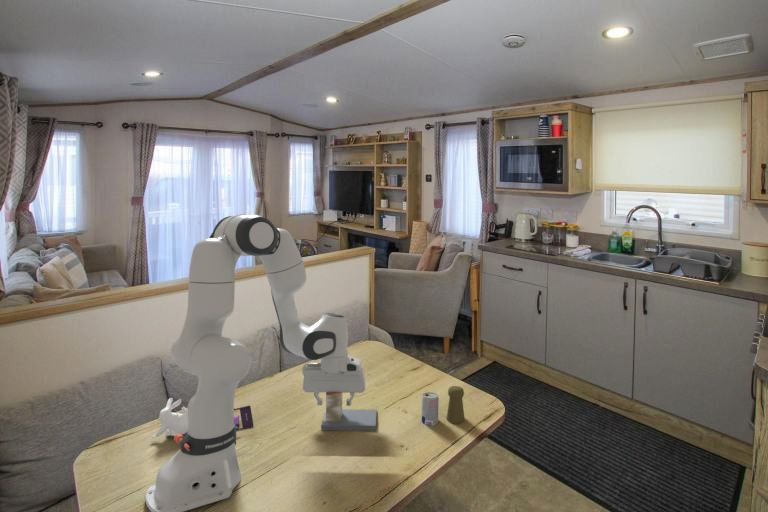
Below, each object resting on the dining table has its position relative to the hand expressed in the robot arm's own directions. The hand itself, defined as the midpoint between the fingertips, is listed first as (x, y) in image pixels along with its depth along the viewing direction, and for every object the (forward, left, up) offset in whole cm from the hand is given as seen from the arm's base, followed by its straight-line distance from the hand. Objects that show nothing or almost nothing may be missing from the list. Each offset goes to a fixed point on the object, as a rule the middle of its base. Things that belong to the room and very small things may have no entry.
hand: (334, 404), depth 138 cm
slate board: (+4, -3, -6) cm, 8 cm away
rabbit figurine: (-40, +28, -6) cm, 49 cm away
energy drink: (+23, -20, -9) cm, 32 cm away
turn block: (0, 0, -4) cm, 4 cm away
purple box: (-20, +18, -4) cm, 27 cm away
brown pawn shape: (+30, -26, -6) cm, 40 cm away
